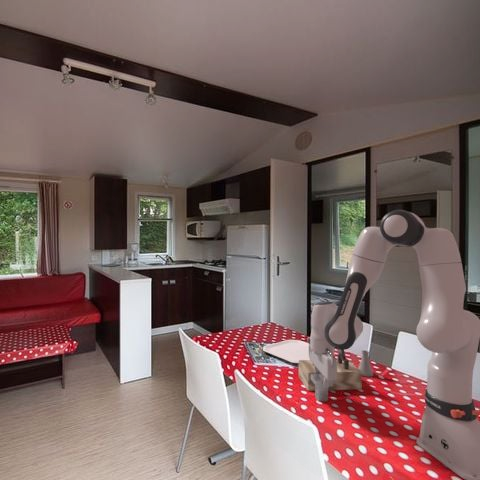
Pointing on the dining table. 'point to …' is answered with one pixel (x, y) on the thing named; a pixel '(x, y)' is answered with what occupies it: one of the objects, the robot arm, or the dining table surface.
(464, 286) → the robot arm
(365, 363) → the flask
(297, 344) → the plate
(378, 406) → the dining table surface
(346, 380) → the socket block
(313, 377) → the steel pin
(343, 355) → the latch bar
